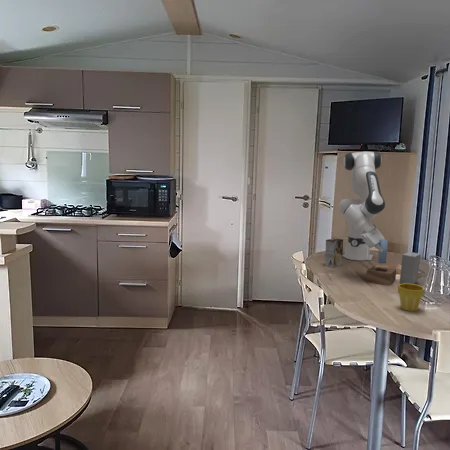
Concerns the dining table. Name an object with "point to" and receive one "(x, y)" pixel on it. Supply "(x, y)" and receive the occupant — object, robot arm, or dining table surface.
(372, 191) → the robot arm
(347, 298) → the dining table surface
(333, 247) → the coffee box
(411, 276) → the skincare box
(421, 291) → the plant pot
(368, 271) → the socket block
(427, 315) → the dining table surface
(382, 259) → the pin
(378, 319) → the dining table surface
